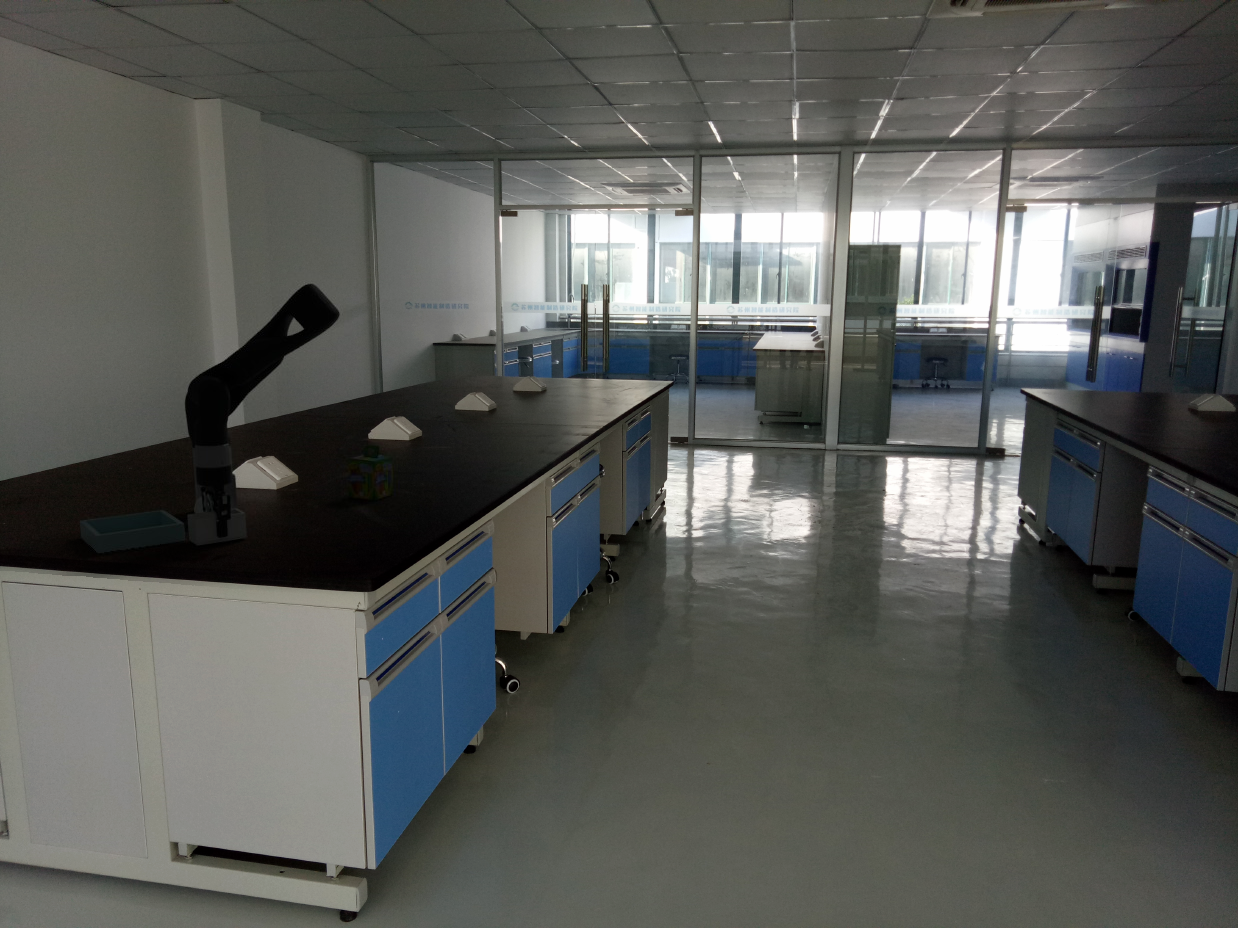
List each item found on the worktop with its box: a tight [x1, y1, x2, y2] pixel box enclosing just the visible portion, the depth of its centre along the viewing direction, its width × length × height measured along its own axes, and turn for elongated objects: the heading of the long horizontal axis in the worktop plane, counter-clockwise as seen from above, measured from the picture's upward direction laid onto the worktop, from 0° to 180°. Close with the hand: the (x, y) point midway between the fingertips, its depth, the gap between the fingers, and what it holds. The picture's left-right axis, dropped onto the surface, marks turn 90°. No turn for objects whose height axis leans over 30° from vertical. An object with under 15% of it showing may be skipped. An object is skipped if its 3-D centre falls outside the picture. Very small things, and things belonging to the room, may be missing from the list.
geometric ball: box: [193, 497, 209, 514], centre depth 223 cm, size 8×8×8 cm
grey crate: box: [187, 507, 248, 546], centre depth 207 cm, size 11×6×6 cm, turn 131°
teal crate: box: [79, 509, 186, 554], centre depth 207 cm, size 18×17×4 cm
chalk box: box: [347, 444, 394, 502], centre depth 254 cm, size 9×9×15 cm
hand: (217, 533), depth 207 cm, fingers closed on grey crate, 6 cm apart
